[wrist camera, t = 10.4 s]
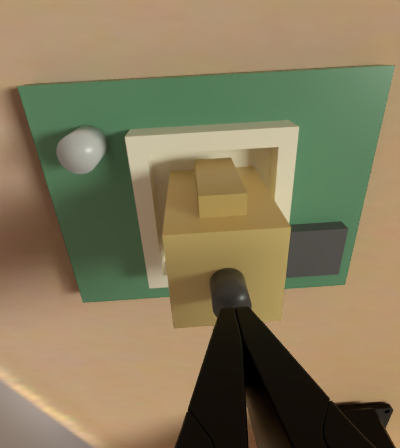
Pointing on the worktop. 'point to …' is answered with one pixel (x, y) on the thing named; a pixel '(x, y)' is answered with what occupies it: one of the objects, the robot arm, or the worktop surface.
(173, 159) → the board
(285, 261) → the plug
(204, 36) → the worktop surface
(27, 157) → the worktop surface
